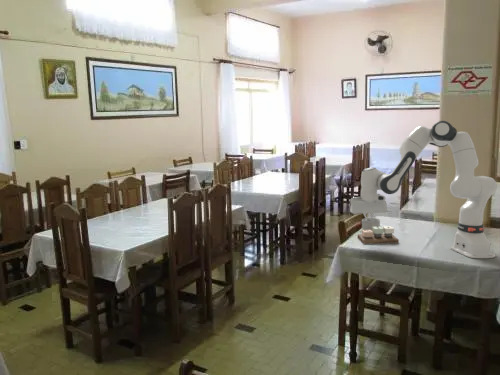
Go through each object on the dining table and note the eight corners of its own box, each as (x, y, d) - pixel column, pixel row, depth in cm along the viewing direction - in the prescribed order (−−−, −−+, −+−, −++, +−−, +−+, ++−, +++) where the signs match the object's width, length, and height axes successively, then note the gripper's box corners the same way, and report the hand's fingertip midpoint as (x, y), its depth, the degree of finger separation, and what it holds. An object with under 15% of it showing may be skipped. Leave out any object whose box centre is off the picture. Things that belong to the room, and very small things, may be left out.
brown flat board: (398, 242, 247) (398, 239, 246) (363, 243, 246) (363, 240, 246) (391, 236, 259) (391, 233, 258) (357, 237, 258) (357, 234, 258)
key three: (372, 240, 250) (373, 231, 249) (364, 240, 250) (364, 231, 249) (370, 237, 255) (370, 229, 254) (361, 237, 255) (361, 229, 254)
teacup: (380, 235, 262) (380, 222, 261) (361, 234, 265) (362, 221, 263) (378, 228, 276) (378, 216, 274) (360, 228, 278) (360, 216, 277)
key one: (393, 236, 250) (394, 228, 249) (385, 236, 250) (385, 228, 249) (390, 234, 255) (391, 225, 254) (382, 234, 255) (382, 226, 254)
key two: (383, 236, 250) (383, 228, 249) (374, 237, 249) (375, 228, 249) (380, 234, 254) (380, 226, 254) (372, 234, 254) (372, 226, 254)
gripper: (351, 198, 243) (351, 222, 246) (388, 197, 244) (387, 221, 246) (348, 196, 250) (348, 219, 252) (384, 195, 250) (383, 218, 253)
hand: (368, 220), depth 249 cm, fingers closed
